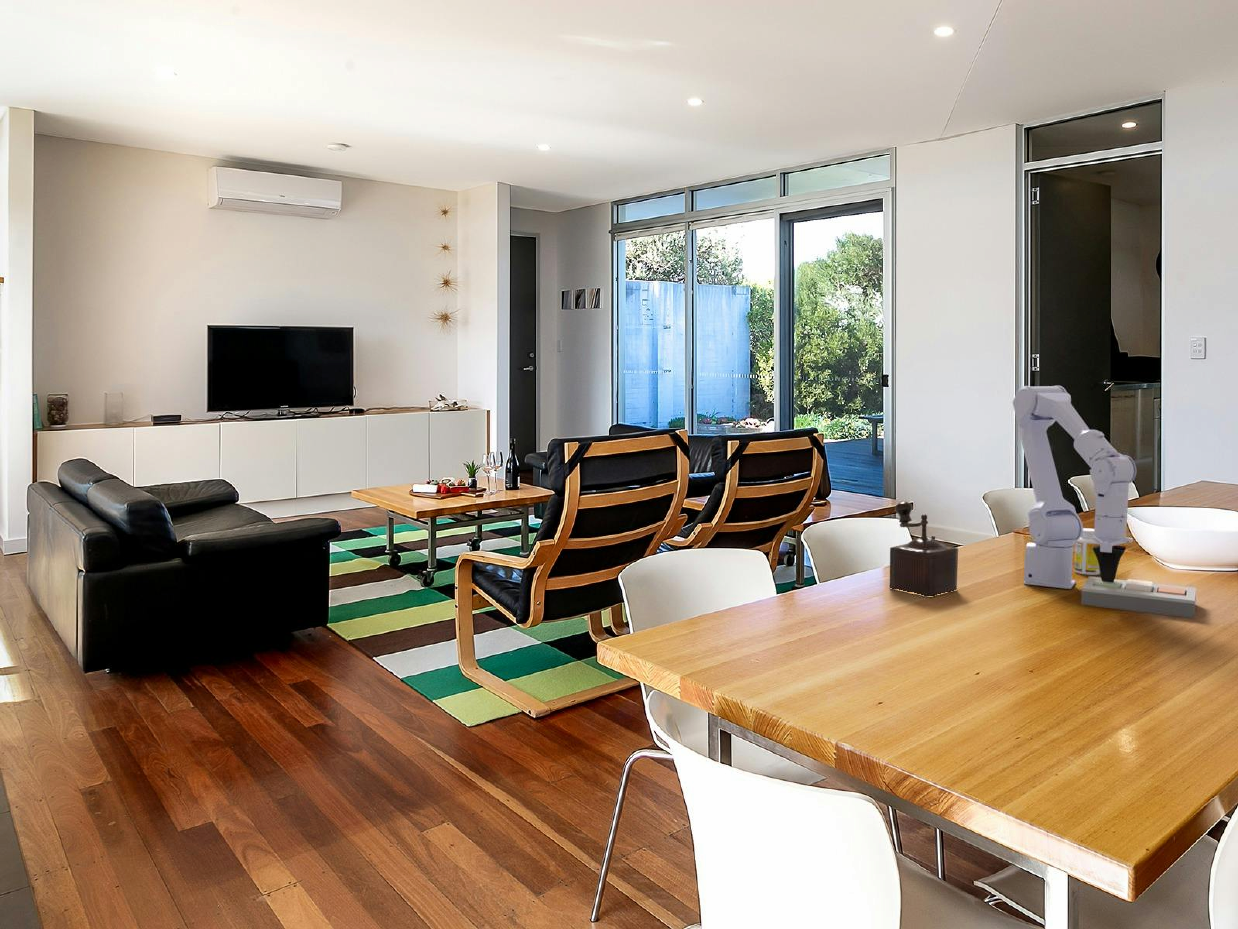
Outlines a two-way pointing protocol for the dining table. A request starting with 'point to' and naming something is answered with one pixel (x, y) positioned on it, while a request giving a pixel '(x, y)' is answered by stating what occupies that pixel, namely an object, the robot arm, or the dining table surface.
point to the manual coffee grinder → (922, 561)
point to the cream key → (1139, 585)
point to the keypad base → (1140, 599)
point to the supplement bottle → (1086, 554)
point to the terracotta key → (1171, 591)
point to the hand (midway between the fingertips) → (1107, 581)
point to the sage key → (1107, 583)
